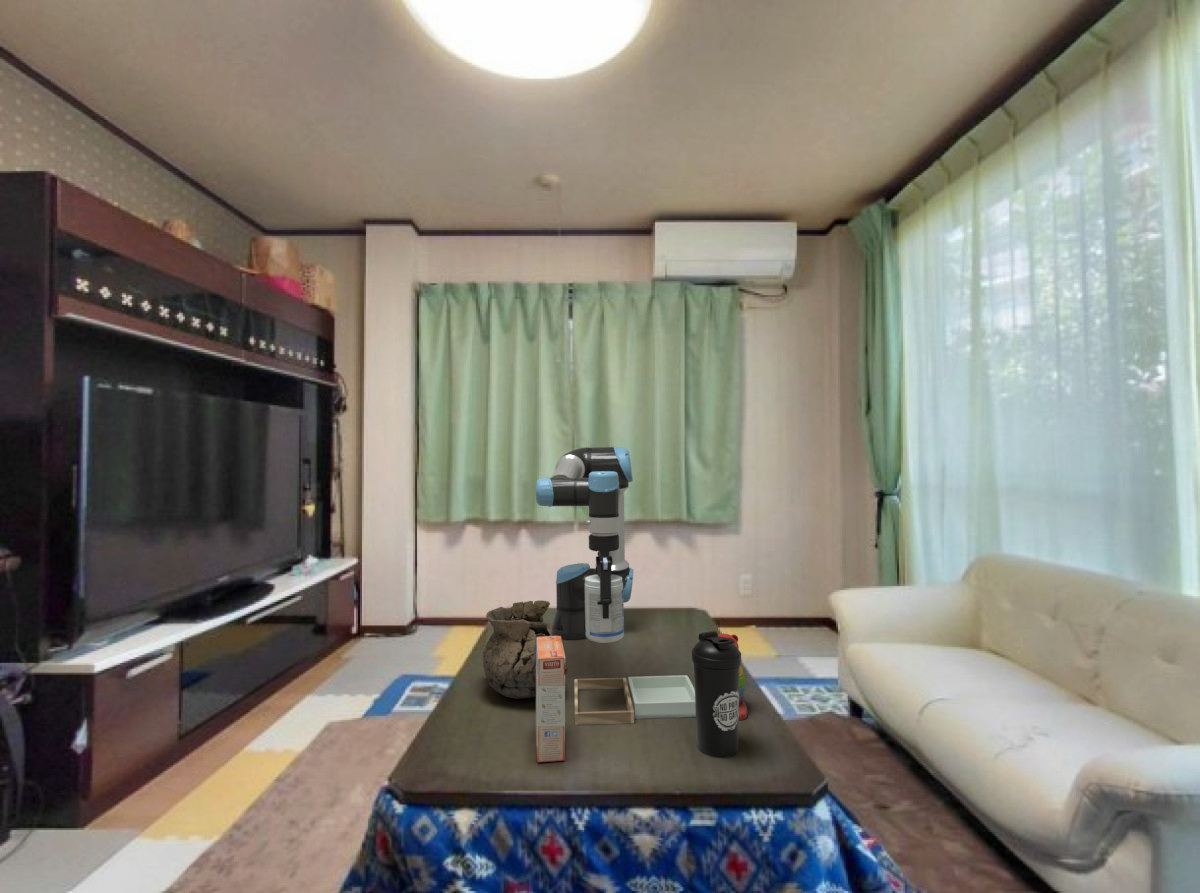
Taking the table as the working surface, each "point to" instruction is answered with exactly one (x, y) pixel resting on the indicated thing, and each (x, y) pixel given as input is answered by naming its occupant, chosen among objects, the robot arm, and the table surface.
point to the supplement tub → (594, 610)
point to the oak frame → (603, 716)
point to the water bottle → (716, 694)
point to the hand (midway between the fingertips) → (604, 624)
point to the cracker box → (550, 699)
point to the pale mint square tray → (662, 696)
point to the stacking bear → (741, 682)
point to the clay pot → (515, 648)
